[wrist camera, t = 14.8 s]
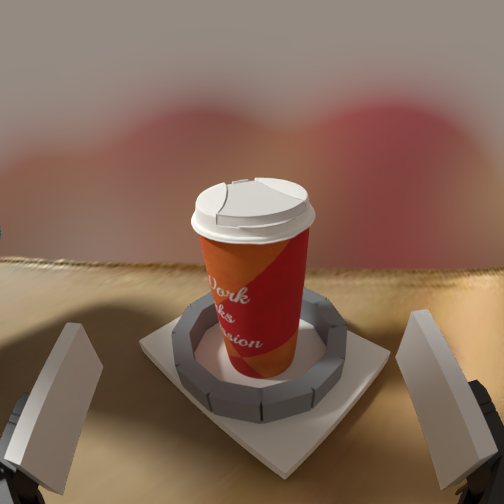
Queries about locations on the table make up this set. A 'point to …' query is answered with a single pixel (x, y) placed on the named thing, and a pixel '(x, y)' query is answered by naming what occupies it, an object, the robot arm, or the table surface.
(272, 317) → the paper cup
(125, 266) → the table surface
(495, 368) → the table surface
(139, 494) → the table surface
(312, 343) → the ring board
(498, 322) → the table surface
